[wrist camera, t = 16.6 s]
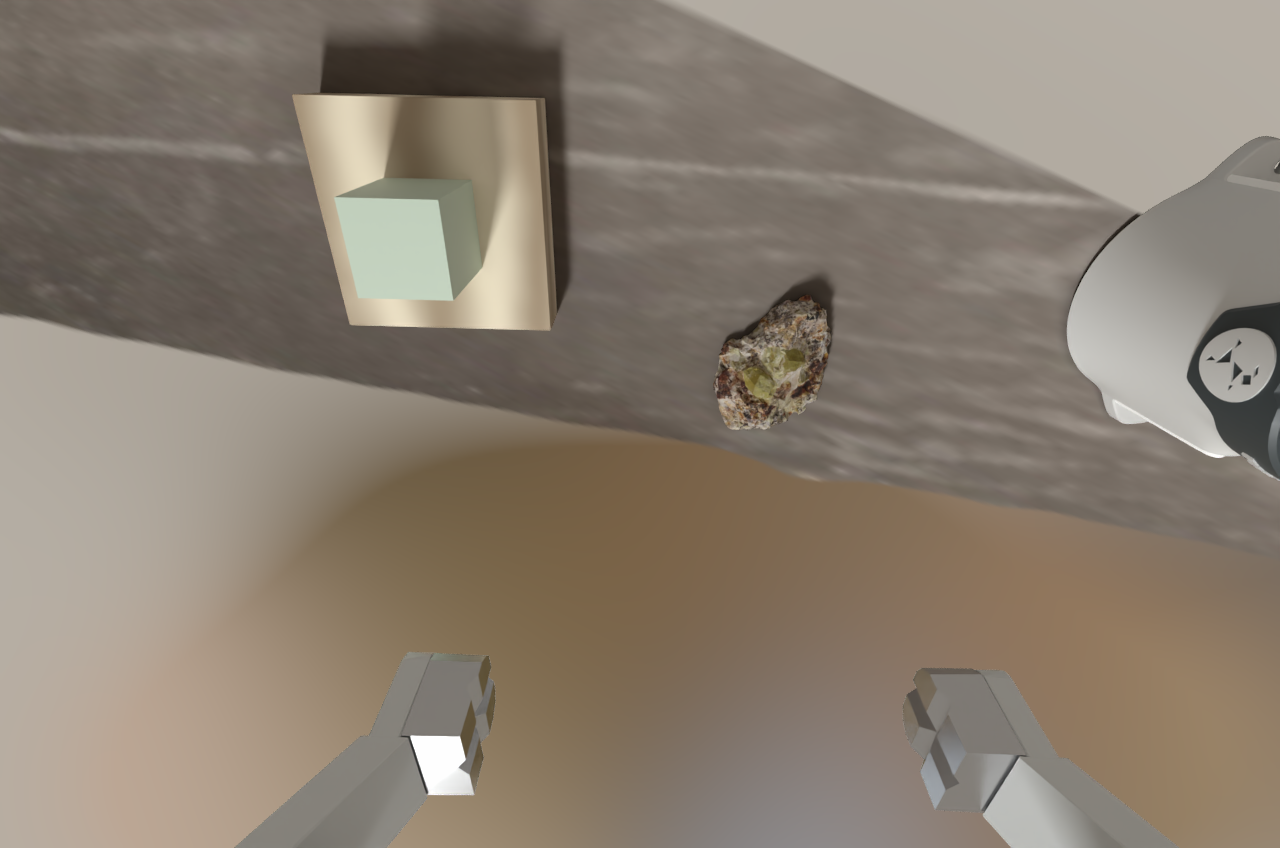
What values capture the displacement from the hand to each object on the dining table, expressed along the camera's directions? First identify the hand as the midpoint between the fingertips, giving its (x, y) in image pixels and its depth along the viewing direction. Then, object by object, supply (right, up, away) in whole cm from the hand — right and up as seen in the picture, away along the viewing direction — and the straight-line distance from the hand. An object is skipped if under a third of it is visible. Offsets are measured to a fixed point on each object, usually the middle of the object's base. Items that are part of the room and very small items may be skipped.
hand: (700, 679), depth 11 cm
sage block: (-13, +17, +23) cm, 31 cm away
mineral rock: (+8, +10, +31) cm, 34 cm away
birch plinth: (-13, +18, +26) cm, 34 cm away
